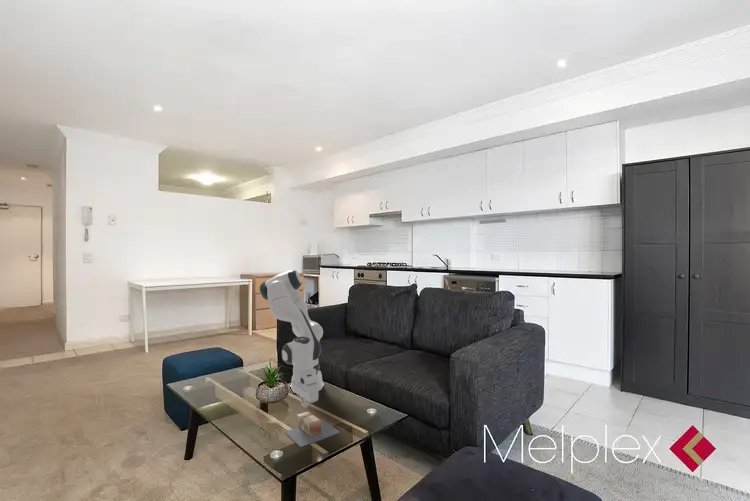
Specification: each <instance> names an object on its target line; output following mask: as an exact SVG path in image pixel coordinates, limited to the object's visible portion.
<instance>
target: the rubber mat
mask: <svg viewBox="0 0 750 501" xmlns="http://www.w3.org/2000/svg"><path fill="white" fill-rule="evenodd" d="M320 420H321V432H320V433H318V434H315V435H312V436H310V435H309V434H307V433H306V432H305V431H303V430H302V429H301V428H300V427H298V426H297V427H294V428H291V429H288V430H286V431H284V434H286V436H287V437H289V438H290V439H291V440H292V441H293V442H294V443H295V444H296V445H297V446H298V447H299V448H304V447H306V446H309V445H312V444H314V443H317V442H320V441H323V440H325V439H328V438H330V437H333V436H336V435H339V434H341V431H339V430H338V429H337V428H336V427H334V426H333V425H331V424H330V423H328V422H327V421H326V420H324V419H323V418H321V419H320Z"/></svg>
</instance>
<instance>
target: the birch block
mask: <svg viewBox="0 0 750 501" xmlns="http://www.w3.org/2000/svg"><path fill="white" fill-rule="evenodd" d="M297 427H300V428H301V429H302V430H303V431H305V432H306V433H307V434H309V435H310V436H312V435H315V434H318V433H320V432H321V419H319V418H318V417H317V416H315V415H314V414H312V412H309V411H304V412H302V413H298V414H297Z"/></svg>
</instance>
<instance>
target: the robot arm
mask: <svg viewBox="0 0 750 501" xmlns="http://www.w3.org/2000/svg"><path fill="white" fill-rule="evenodd" d="M302 284H303V283H302V277H301V275H300V274H299V272H298V271H297V270H294V269H291V270H287V271H286V272H282V273H280V274H277V275H275V276H273V277H271V278H269V279H267V280H264V281H263V282H261V283H260V285H259V293H260V295H261V297H262V298H263V299H264V300H266V301H267V302H268V305H269V310H270V313H271V315H272V316H273V317H274V318H275V319H277V320H279V321H282V322H283V321H284V322H287V323H288V322H289V323H291V324H290V325H291V327H292V328H291V330H292V333H293V334H294V335H295V336H296V337H295V338H293V339H292V341H290V342H288V343H287V342H286V343H285V344H284V345H283V346H282V348H281V360H282V361H283V362H284V363H285V364H286V365H292V366H293V368H292V376H291V380H290V381H291V382H290V383H291V385H290V387H291V389H292V390H291V389H290V390H291V391H293V392H294V393H296V394H297V395H298V396H299V400H300V402H301V404H300V405H301V406H302V407H303V408H304V409H305V408H309V403H310V404H313V403H315V402H318V400H319V391H321V390H323V387H325V386H324V384H325V383H324V382H323V375H322V371H321V370H320V368H321V367H320V363H319V357H320V356H321V354H322V350H323V349H322V344H321V342H320V341H321V339H322V338H323V335H324V330H323V327H322V326H321V325H320V323H318V322H316V321H314V320H311V318H310V316H309V312H308V305H307V303H306V302H305V299H304V296H302V293H301V291H300V290H299V289H300V288H301V286H302ZM290 387H289V388H290ZM293 392H292V393H293ZM294 393H293V394H294Z"/></svg>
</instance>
